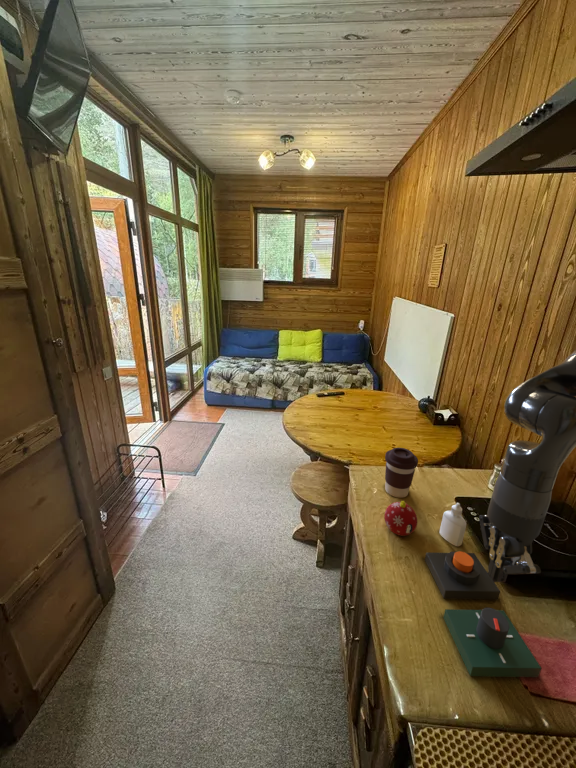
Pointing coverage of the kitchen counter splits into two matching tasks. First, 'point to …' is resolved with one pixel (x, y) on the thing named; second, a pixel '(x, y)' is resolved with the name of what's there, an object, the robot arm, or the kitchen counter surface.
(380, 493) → the kitchen counter surface
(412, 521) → the christmas ornament
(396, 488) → the coffee cup
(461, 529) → the eye dropper bottle
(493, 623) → the knob
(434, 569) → the block
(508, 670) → the green dial base plate
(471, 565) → the orange button cap
